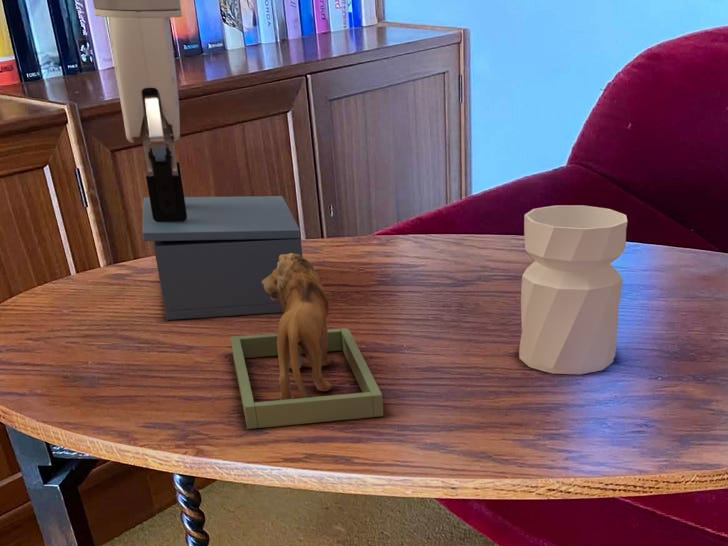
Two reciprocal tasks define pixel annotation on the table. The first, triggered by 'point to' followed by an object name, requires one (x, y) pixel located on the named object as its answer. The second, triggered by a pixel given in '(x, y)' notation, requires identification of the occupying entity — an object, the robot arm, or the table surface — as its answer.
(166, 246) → the chest
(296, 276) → the lion figurine
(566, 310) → the vase
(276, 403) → the tray
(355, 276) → the table surface
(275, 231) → the lid
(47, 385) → the table surface
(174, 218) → the robot arm
